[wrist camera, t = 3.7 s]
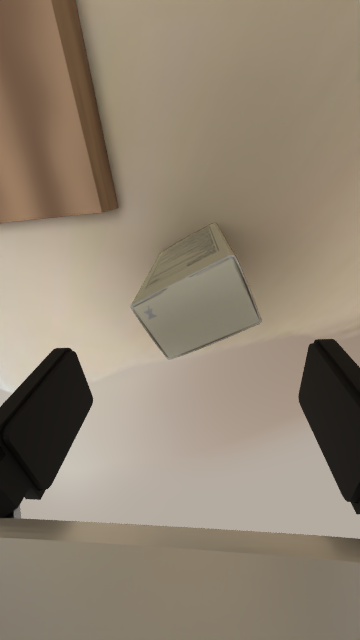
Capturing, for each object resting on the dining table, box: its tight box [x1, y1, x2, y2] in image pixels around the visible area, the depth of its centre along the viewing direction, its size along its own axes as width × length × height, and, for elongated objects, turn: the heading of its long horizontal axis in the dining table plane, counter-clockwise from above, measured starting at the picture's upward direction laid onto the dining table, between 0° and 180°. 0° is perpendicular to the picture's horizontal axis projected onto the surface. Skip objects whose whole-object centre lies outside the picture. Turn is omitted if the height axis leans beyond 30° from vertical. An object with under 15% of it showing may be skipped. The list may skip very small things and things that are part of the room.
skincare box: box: [131, 223, 262, 360], centre depth 18 cm, size 6×4×12 cm
